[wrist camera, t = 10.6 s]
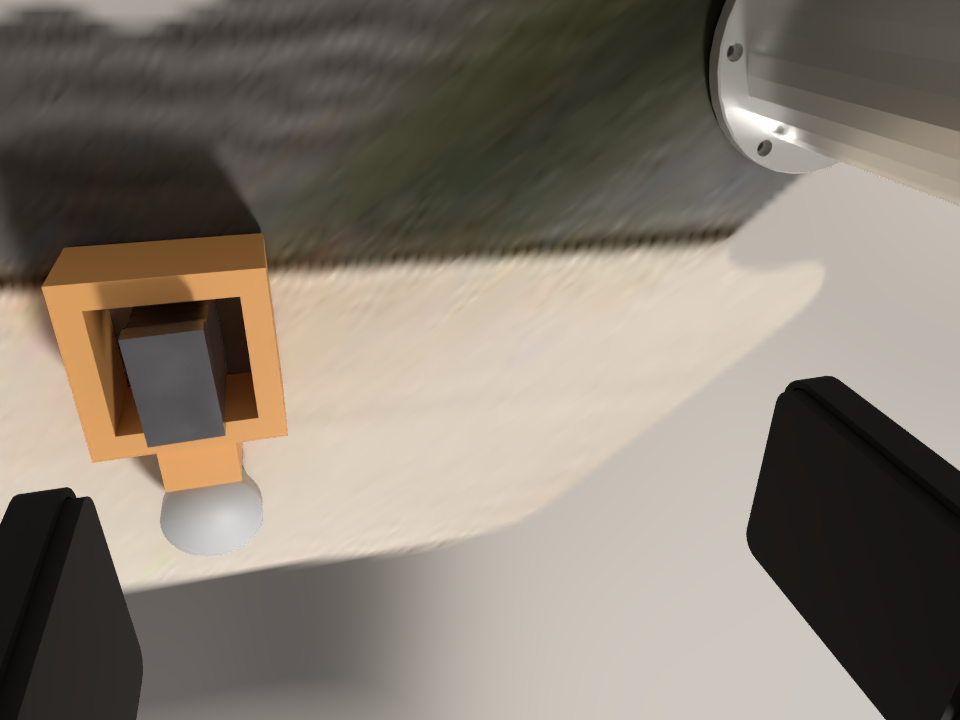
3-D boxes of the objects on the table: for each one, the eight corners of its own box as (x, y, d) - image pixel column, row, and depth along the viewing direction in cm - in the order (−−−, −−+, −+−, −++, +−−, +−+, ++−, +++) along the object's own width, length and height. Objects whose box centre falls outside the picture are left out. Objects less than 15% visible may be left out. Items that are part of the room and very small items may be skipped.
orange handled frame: (63, 247, 34) (41, 286, 30) (262, 232, 36) (265, 267, 32) (139, 531, 42) (129, 591, 38) (298, 506, 44) (304, 560, 40)
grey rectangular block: (209, 270, 36) (203, 329, 30) (227, 365, 38) (225, 435, 33) (137, 277, 35) (118, 340, 30) (161, 373, 38) (147, 447, 32)
